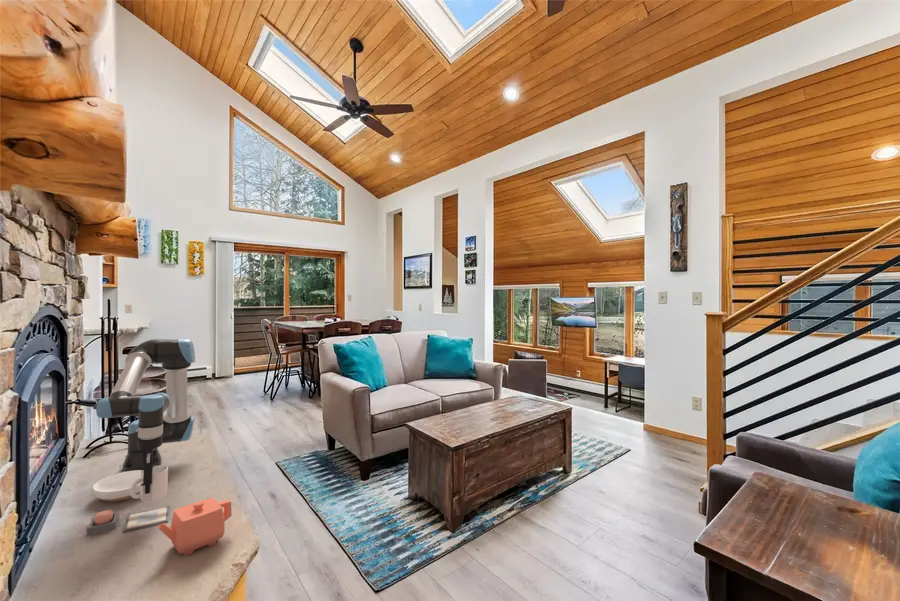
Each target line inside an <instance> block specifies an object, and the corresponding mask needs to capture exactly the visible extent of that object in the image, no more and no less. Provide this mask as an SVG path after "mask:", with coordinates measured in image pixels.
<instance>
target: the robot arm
mask: <svg viewBox="0 0 900 601" xmlns="http://www.w3.org/2000/svg"><path fill="white" fill-rule="evenodd" d="M195 354H196V353H195V346H194V344H193V341H192V340H191V339H189V338H167V339H166V338H165V339H164V338H163V339H162V338H160V339H158V338H156V339H155V338H154V339H149V340H146V341H143V342H141V343H140V344H137V345H136V346H134V347H133V348H132V349H131V350H130V351H129V352H128V354H127V355H126V357H125V360H124V363H125V365H124V368H123V369H122V371H121V374H120V375H119V376H118V379H117V381H116V383H115V385H114V387H113V389H112V390H111V393H110V395H109V397H104V398H100V399H99V400H98V401H97V404H96V407H95V409H96V410H95V411H96V413H95V414H96V416H97V417H98V418H100V419H109V418H110V419H111V418H123V417H135V416H138V419H137V420H136V419H135V420H134V421H132V422H131V423H129V425H128V431H127V454H126V456H125V459H124V461H123V464H122V471H121V472H127V471H135V470H144V476H143V484H141V486H143V501H142V503H147V502H148V501H150V502H153V501H152V484H153V482H152V473H153V467H154V466H160V465H161V464H162V460H163V458H162V455H161V453H160V451H159V449H158V448H160V447H161V446H162V445H163V444H169V443H170V444H171V443H181V442H187V441H189V440H190V439H191V438H192V434H193V430H194V426H195V418H196V417H195V416H192V414H191V412H190V411H188V369H189V368H190V367H191V366H192V363H194V362H195ZM156 364H157V365H161V368H162V369H163V370H164V371H165V386H166V387H165V390H166V392H156V393H153V394H146V395H136V394H137V390H138V389H139V386H140V384H141V381H142V379H143V377H144V375H145V372H146V370H147V369H148V368H149V367H150V366H151V365H156ZM165 411H166V414H165V415H164V412H165ZM148 503H149V502H148Z"/></svg>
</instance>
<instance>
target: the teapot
mask: <svg viewBox="0 0 900 601" xmlns="http://www.w3.org/2000/svg"><path fill="white" fill-rule="evenodd" d="M232 516H233V514H232V501H231V500H230V499H226V500H221V501H217V500H216V499H215V498H214V497H210V498H207V499H202V500H199V501H197V502H192V503H190V504H187V505H185V506H182V507H178V508H175V509H174V510H173V512H172V516H171V522H170V525H167V523H163V524H158V525H157V528H158V530H159V531H160V532H162V533H163V535H165V537H167V538H168V539H169V540H170V541H171V544H172V545H173V546H174V548H175V550H176V551H177V553H178V554H179V555H181V554H183V555H184V556H186V557H187V556H191V555H192V554H194V552H195V550H197V549H200V548H201V547H204V546H208V547H212V546H215V545H216V544H217V541H218V540H220V539H222V538H223V537H224V534H225V522H226V521H227V520H228V519H230V518H231V517H232Z"/></svg>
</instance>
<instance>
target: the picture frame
mask: <svg viewBox="0 0 900 601" xmlns="http://www.w3.org/2000/svg"><path fill="white" fill-rule="evenodd" d="M169 514H170V505H166V506H162V507H158V508H154V509H148V510H145V511H143V510H142V511H140V512H135V513H131V514H127V517H126V520H125V523H124V529H123V531H122V532H123V534H124V533H129V532H133V531H136V530H140V529H145V528H149V527H154V526H159V525H161V524H163V523H164V524H167V523H169Z"/></svg>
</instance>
